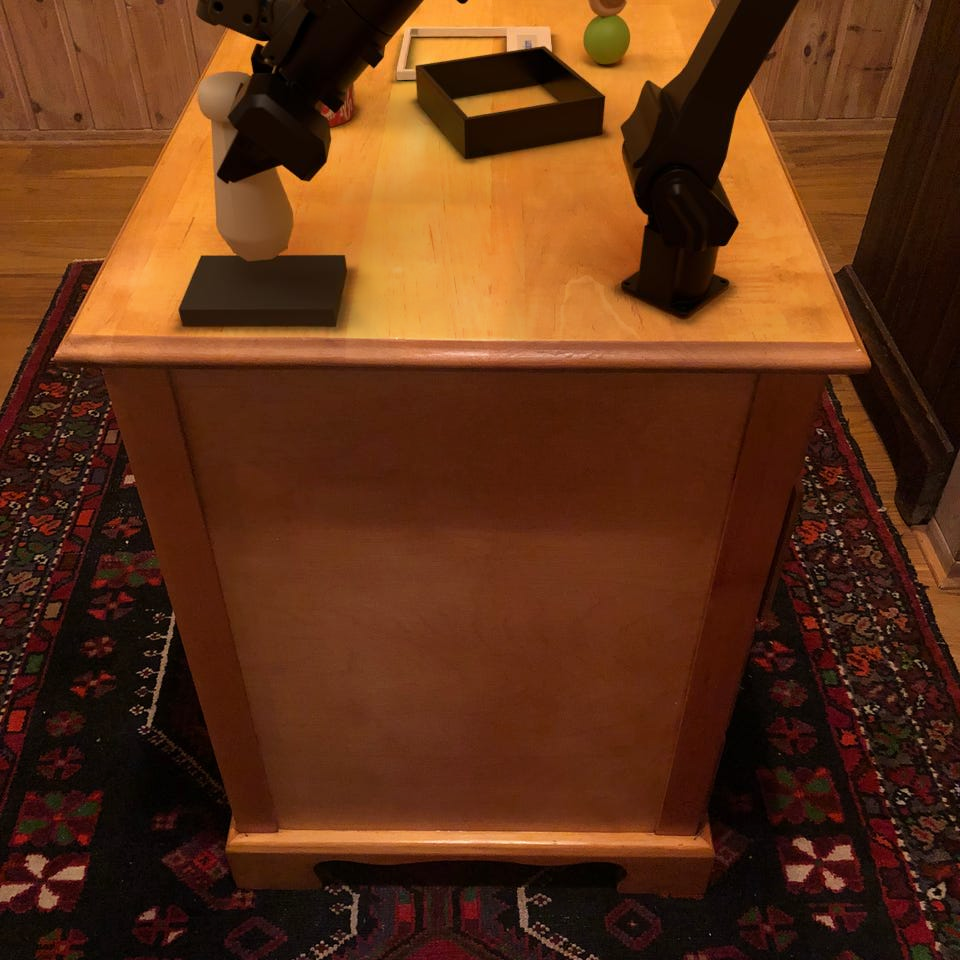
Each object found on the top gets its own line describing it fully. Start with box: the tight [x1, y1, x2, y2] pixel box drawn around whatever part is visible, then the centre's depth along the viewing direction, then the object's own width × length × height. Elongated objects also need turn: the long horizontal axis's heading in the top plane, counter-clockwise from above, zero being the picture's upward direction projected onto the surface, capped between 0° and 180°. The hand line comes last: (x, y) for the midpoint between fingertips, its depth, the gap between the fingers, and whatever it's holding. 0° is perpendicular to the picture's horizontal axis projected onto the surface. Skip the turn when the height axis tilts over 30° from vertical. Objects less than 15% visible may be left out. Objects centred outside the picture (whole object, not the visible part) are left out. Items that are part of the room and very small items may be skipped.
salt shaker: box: [196, 70, 294, 261], centre depth 69 cm, size 6×6×13 cm
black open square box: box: [415, 46, 606, 160], centre depth 100 cm, size 15×15×4 cm
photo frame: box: [396, 26, 553, 81], centre depth 114 cm, size 15×1×18 cm
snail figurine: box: [582, 0, 631, 65], centre depth 108 cm, size 5×6×12 cm
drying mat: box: [178, 254, 348, 327], centre depth 76 cm, size 8×12×2 cm, turn 90°
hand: (226, 167), depth 69 cm, fingers closed on salt shaker, 3 cm apart
